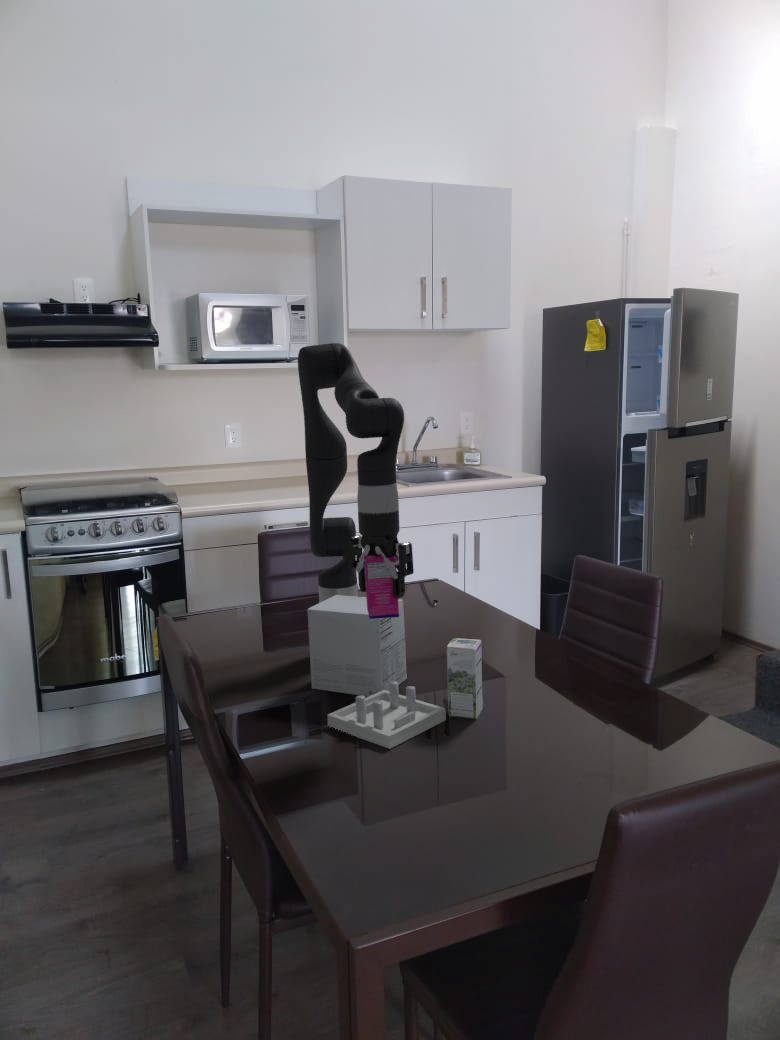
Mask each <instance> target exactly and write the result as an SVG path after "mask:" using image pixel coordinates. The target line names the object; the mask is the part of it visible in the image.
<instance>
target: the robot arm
mask: <svg viewBox="0 0 780 1040" xmlns="http://www.w3.org/2000/svg"><path fill="white" fill-rule="evenodd" d="M297 371H298V378H299V386H300V387H299V388H300V394H301V403H302V409H303V410H302V411H303V419H304V420H303V422H304V445H305V446H304V448H305V464H306V474H307V475H306V476H307V485H308V486H307V487H308V498H309V500H308V501H309V504H308V505H309V544H310V545H309V546H310V550H311V553H312V554H313V556H315V557H317V558H331V557H333V558H335V557H342V559H341V560H340V561H339V562H338V563H336V564H334V565H333V566H331V567H329V568H326V569H324V570H321V572H319V573H318V577H317V581H318V583H317V585H318V601H319V602H318V603H320V602H322V601H325V600H327V599H329V598H331V597H333V596H335V595H344V596H357V597H359V595H358V587H359V591H360V592H362V593H366V583H365V567H364V556H365V555H366V556H368V555H373V556H379V557H380V558H383V560H384V565H385V567H386V568H387V569H389V571H390V572H391V574H392V576H393V578H394V579H392V581H393V597H394V598H397V599H402V598H403V597H404V596H405V593H406V579H405V578H406V577H407V576H410V575H413V574H414V560H413V559H414V558H413V544H412V543H411V542H410V541H408V542H399V540H398V535H399V532H400V509H399V508H400V505H399V492H398V487H397V486H398V484H397V455H398V449H399V443H400V440H401V437H402V432H403V429H404V422H405V411H404V408H403V406H402V404H401V402H400V401H399V400H397V399H396V398H393V397H382V398H381V397H380V396H379V394H378V393H377V392H376V390H375V389H374V388H373V387H372V385H370V384H369V382H367V381H366V380H365V378H363V375H362V373H361V371H360V368H359V367H358V365H357V363H356V361H355V359H354V357H353V355H352V353H351V351H350V350H349V348H348V347H347V346H346V345H344V344H343V343H340V342H339V343H338V342H332V343H330V342H329V343H325V344H324V343H323V344H314V345H307V346H303V347H301V348H300V349H299V352H298V356H297ZM332 388H334V391H333V392H334V399H335V401H336V403H337V405H338V406H339V408H341V410H342V411H343V413H344V414H345V426H346V429H347V431H348V433H349V434H350V435H351V436H353V437H355V438H357V439H371V438H372V439H376V438H381V440H380V442H379V444H378V446H377V447H375V448H373V449H369V450H367V451H364V452H361V453H359V455H358V456H357V460H356V461H357V462H356V466H357V495H356V497H357V516H358V517H357V518H358V519H357V520H358V534H360V535H357V530H356V524H355V521H354V519H353V518H352V517H350V516H341V517H340V516H339V517H324V516H325V515H324V514H325V511H326V509H327V506H328V504H329V503H330V500H331V499H332V497H333V495H334V494H335V493H336V491H337V490H338V488H339V487H340V485H341V484H342V482H343V480H344V478H345V476H346V474H347V471H348V448H347V445H348V444H347V442H346V439H345V437H344V435H343V434H342V432H341V431H340V429H339V428H338V427H337V426H336V425H335V423H334V422H333V421H332V419H330V417H329V416H328V414H327V413H326V411H325V410H324V408H323V406H322V404H321V402H320V400H319V399H320V398H319V394H318V393H319V391H320V390H325V389H332ZM392 556H395V557H396V563H395V562H394V561H393V562H391V561H390V560H389V559H388V558H389V557H392ZM395 565H396V568H395ZM357 574H358V577H357Z"/></svg>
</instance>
